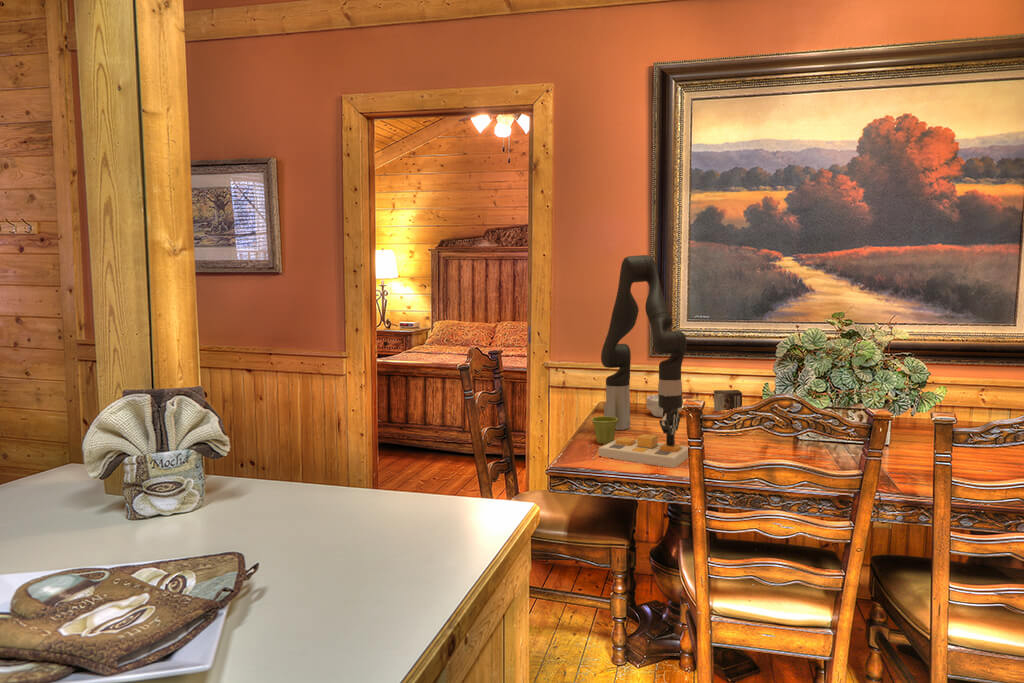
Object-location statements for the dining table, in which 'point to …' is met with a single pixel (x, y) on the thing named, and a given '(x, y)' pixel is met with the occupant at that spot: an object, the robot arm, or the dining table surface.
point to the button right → (670, 447)
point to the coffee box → (727, 401)
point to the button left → (625, 441)
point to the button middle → (647, 440)
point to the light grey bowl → (656, 405)
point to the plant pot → (604, 428)
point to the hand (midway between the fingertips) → (670, 445)
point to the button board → (644, 454)
